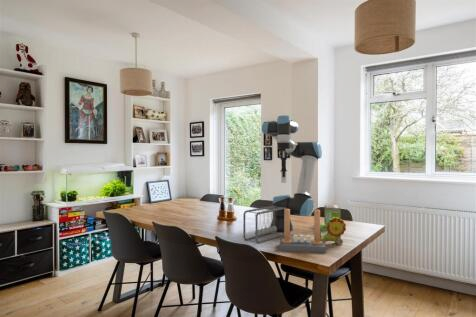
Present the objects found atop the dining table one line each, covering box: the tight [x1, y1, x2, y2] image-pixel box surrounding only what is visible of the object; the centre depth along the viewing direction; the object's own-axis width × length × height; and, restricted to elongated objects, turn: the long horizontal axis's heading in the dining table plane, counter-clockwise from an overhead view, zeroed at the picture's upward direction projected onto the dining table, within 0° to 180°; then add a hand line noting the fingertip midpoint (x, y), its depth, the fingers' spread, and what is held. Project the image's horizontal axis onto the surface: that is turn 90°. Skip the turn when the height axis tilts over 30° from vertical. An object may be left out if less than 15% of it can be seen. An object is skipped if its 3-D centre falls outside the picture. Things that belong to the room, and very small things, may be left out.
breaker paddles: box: [293, 234, 312, 243], centre depth 174 cm, size 2×9×4 cm, turn 81°
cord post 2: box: [312, 209, 322, 245], centre depth 173 cm, size 5×5×18 cm
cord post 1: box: [282, 209, 293, 244], centre depth 175 cm, size 5×5×18 cm
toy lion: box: [320, 217, 347, 246], centre depth 183 cm, size 16×5×15 cm, turn 92°
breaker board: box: [278, 238, 327, 254], centre depth 174 cm, size 12×24×3 cm, turn 81°
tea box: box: [323, 204, 341, 225], centre depth 227 cm, size 15×10×15 cm
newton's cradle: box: [242, 205, 286, 244], centre depth 197 cm, size 30×10×18 cm, turn 137°
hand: (283, 182), depth 188 cm, fingers closed
